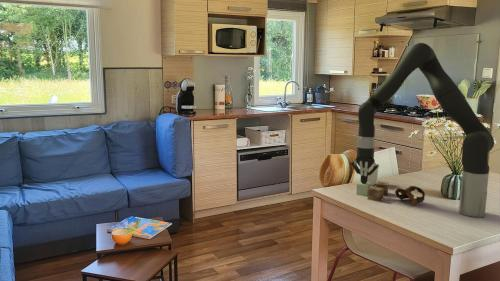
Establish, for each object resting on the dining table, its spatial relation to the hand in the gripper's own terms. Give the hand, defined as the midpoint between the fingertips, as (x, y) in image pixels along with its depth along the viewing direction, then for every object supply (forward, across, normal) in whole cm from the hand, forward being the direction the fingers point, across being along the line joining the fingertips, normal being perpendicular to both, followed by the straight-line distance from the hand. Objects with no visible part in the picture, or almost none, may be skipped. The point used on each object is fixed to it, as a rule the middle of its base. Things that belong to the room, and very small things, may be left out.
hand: (363, 183), depth 202 cm
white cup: (+5, +3, -19) cm, 20 cm away
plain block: (+5, 0, 0) cm, 5 cm away
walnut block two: (+5, -7, +5) cm, 10 cm away
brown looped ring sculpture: (+5, -21, +2) cm, 21 cm away
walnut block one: (+5, -7, -5) cm, 10 cm away
